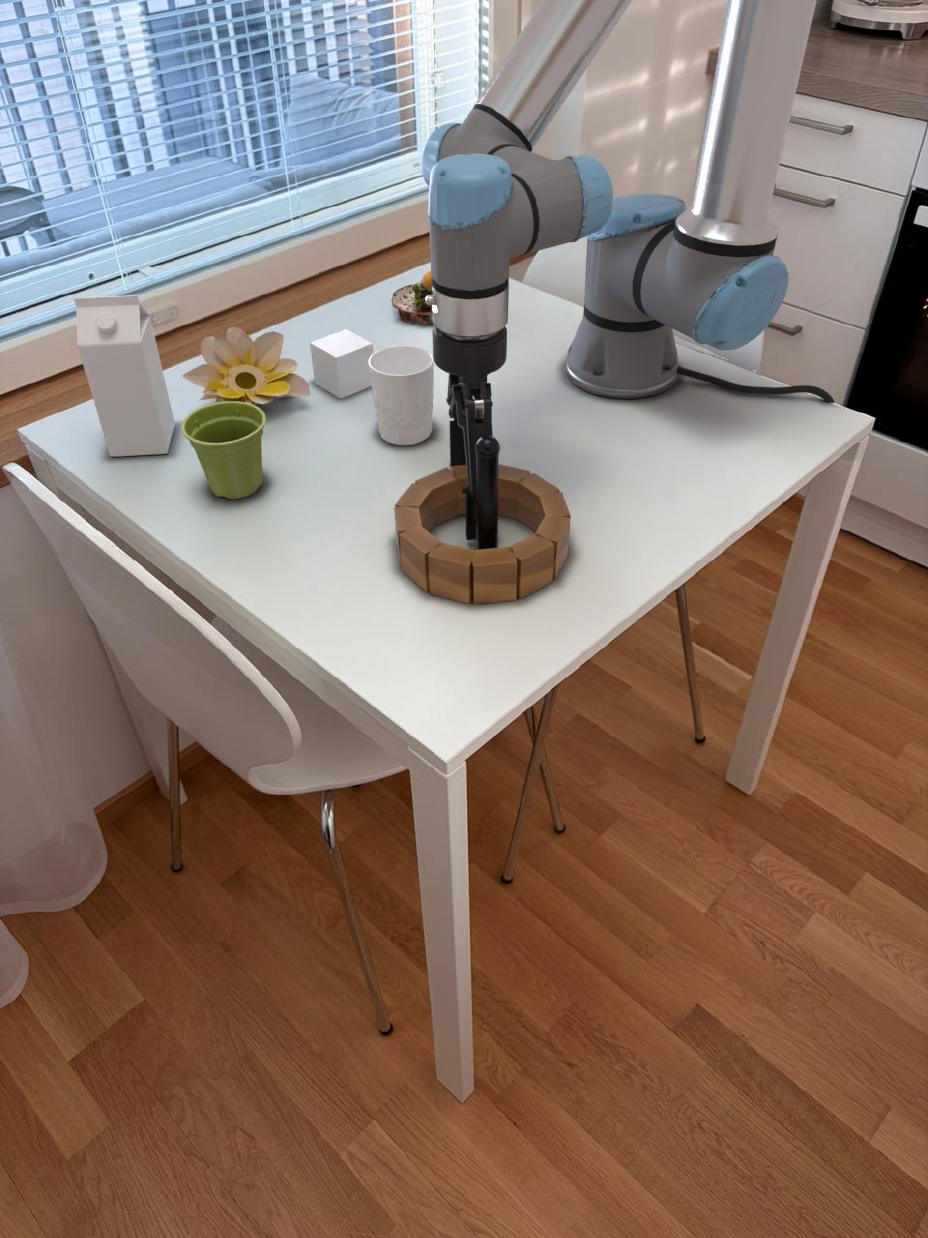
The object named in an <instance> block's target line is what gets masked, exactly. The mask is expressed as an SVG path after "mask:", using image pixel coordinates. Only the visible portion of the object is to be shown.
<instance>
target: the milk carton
mask: <svg viewBox="0 0 928 1238" xmlns="http://www.w3.org/2000/svg"><path fill="white" fill-rule="evenodd" d="M73 301H74V303H75V309H76V312H75V313H76V345H77V348H78V352H79V355H80V359H81V363H82V365H83V369H84V372H85V376H86V380H87V384H88V386H89V390H90V393H91V396H92V400H93V403H94V406H95V410H96V413H97V417H98V420H99V424H100V427H101V430H102V434H103V438H104V441H105V444H106V447H107V451H108V455H109V456H110V457H129V456H130V457H131V456H150V455H166V454H168V453H169V451H170V445H171V441H172V438H173V434H174V430H175V426H176V421H175V417H174V412H173V408H172V403H171V400H170V396H169V392H168V391H169V390H168V387H167V383H166V379H165V374H164V370H163V366H162V361H161V358H160V354H159V350H158V349H159V348H158V344H157V342H156V341H157V340H156V337H155V332H154V328H153V323H152V319H151V314H149V313H148V311H146V309H145V308H144V307H143V306H142V305H141V303H140V300H139V295H138V294H127V295H107V296H105V295H104V296H85V297H84V296H83V297H74V298H73Z"/></svg>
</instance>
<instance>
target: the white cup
mask: <svg viewBox="0 0 928 1238" xmlns="http://www.w3.org/2000/svg"><path fill="white" fill-rule="evenodd" d="M369 369H370V377H371V385H372V386H371V393H372V397H373V404H374V405H373V406H374V410H375V416H376V419H377V427H378V432H379V433H378V434H379V435H380V438H381V439H382V440H383V441H384V442H387V443H388V444H393V445H396V446H413V445H416V444H420V443H423V442H424V441H426V440H427V439H428V438H430V436H431V434H432V432H433V413H434V395H435V394H434V393H435V392H434V391H435V389H434V387H435V383H434V381H435V378H434V377H435V362H434V360H433V353H431V352H430V351H429V350H428V349H425V348H423V347H420V346H415V345H411V344H406V345H405V344H400V345H399V344H398V345H391V346H385V347H384V348H380V349H378V350H377V351H375V352H374V354H372V355H371V357H370V358H369Z"/></svg>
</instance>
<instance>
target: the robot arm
mask: <svg viewBox="0 0 928 1238" xmlns="http://www.w3.org/2000/svg"><path fill="white" fill-rule="evenodd" d="M632 2H633V0H541V1H540V3H539V4H538V5H537V7H536V8H535V11H534V12H533V14H532V15H531V17H530V18H529V20H528V21H527V22H526V25H525V26H524V28H523V29H522V31H521V32H520V33H519V35H518V37H517V38H516V40H515V41H514V43H513V45H512V46H511V47H510V49H509V51H508V52H507V54H506V55H505V57H504V59H503V60H502V61H501V63H500V65H499V66H498V68H497V69H496V71H495V72H494V73H493V75H492V77H491V79H490V80H489V81H488V83H487V85H486V86H485V87H484V89H483V91H482V92H481V94H480V95H479V97H478V98H477V100H476V101H475V103H474V105H473V107H472V109H471V110H470V111H469V112H468V114H467V116H465V118H464V120H463V121H462V123H461V122H449V123H445V124H442V125H441V126H440V127H438V128H437V129H434V130H433V131H432V132H431V133H430V134H429V136H428V138H427V140H426V141H425V144H424V146H423V149H422V153H421V159H420V162H421V163H420V167H421V173H422V176H423V180H424V182H425V183H426V185H427V187H428V208H427V220H428V227H429V228H428V230H429V247H430V248H429V252H430V253H429V254H430V270H431V276H432V292H433V294H434V295H427V296H426V304H427V305H433V306H432V314H433V323H432V324H433V328H432V331H431V333H432V355H433V360H434V365H436V367H437V368H439V369H440V370H441V371H443V372H444V373H446V374H448V381H447V396H446V400H445V401H446V403H447V405H448V406H449V408H448V416H449V418H450V419H453V420H449V467H451V466H461V465H466V469H467V480H468V485H467V486H466V487H462V488H461V492H462V494H466V515H465V538H466V541H473V540H474V541H475V540H476V541H477V521H476V452H475V445H476V442H477V441H478V440H479V439H480V438H481V437H483V436H492V437H494V436H493V435H494V433H493V406H494V404H493V400H492V396H493V394H492V385H491V382H488V376H489V375H490V374H493V373H495V372H497V371H498V370H500V369H502V367H504V365H505V364H506V361H507V358H508V357H507V356H508V355H507V354H508V350H507V349H508V328H507V325H508V323H509V298H510V295H509V294H510V282H509V281H510V265H511V259H515V258H518V257H522V256H526V255H527V254H532V253H535V252H539V251H543V250H546V249H549V248H554V247H557V246H561V245H565V244H568V243H576V242H578V241H579V240H580V239H583V238H586V259H585V274H584V275H585V277H584V295H583V312H582V318H581V320H580V323H579V326H578V328H577V330H576V333H575V334H574V338H573V339H572V341H571V344H570V345H569V348H568V349H567V351H566V355H565V356H567V358H566V365H565V366H566V367H565V371H566V375H567V377H568V379H569V381H571V382H572V383H573V384H574V385H575V386H577V387H578V388H580V389H582V390H583V391H586V392H588V393H591V394H593V395H596V396H600V397H606V398H613V399H622V400H623V399H627V400H628V399H642V398H648V397H652V396H656V395H658V394H661V393H663V392H665V391H667V390H669V389H670V388H671V387H672V386H673V385H674V384H675V383H676V381H677V378H678V375H680V376H684V377H688V378H691V379H694V380H698V381H701V382H705V383H708V384H711V385H714V386H717V387H721V388H724V389H726V390H729V391H732V392H737V393H741V394H742V393H743V394H753V395H754V394H755V395H773V396H774V395H787V394H788V395H790V394H801V393H805V394H811V395H815V396H817V397H819V398H820V399H822V400H823V401H824V402H825V403H828V404H834V403H835V399H834V398H833V396H832V395H831V394H830V393H829V392H828V391H826V390H825V389H823V388H821V387H819V386H815V385H810V384H809V385H808V384H799V385H798V384H797V385H789V386H757V385H754V386H753V385H745V384H739V383H735V382H731V381H728V380H725V379H722V378H720V377H717V376H713V375H710V374H706V373H703V372H700V371H696V370H693V369H689V368H686V367H683V366H682V367H681V366H679V355H678V350H677V346H676V339H675V335H674V330H675V331H676V332H679V333H681V334H683V335H684V336H687V337H689V338H690V339H693V341H694V342H696V343H698V344H700V345H707V346H709V347H711V348H714V349H716V350H720V351H725V352H726V351H734V350H738V349H740V348H742V347H744V346H746V345H748V344H750V343H751V342H752V341H754V340H755V339H756V338H757V337H759V336H760V334H762V332H764V330H765V329H766V328H767V327H768V326H769V325H770V323H771V322H772V321H773V320H774V318H775V317H776V315H777V313H778V312H779V310H780V308H781V306H782V305H783V302H784V299H785V297H786V295H787V291H788V287H789V280H790V278H789V276H790V274H789V271H788V269H787V268H788V267H787V265H786V263H785V262H784V261H783V260H782V259H781V258H780V256H777V255H774V253H775V248H776V245H777V239H778V235H779V228H778V226H777V224H776V223H775V222H774V220H773V219H772V218H771V216H770V209H771V204H772V201H773V195H774V190H775V188H776V187H775V186H776V181H777V177H778V174H779V170H780V169H779V168H780V165H781V161H782V156H783V151H784V146H785V143H786V139H787V134H788V129H789V125H790V120H791V115H792V111H793V106H794V103H795V98H796V93H797V90H798V85H799V80H800V76H801V71H802V66H803V63H804V57H805V54H806V49H807V44H808V40H809V36H810V33H811V27H812V24H813V23H812V22H813V18H814V13H815V9H816V5H817V0H727V4H726V10H725V16H724V21H723V27H722V33H721V39H720V44H719V49H718V55H717V62H716V66H715V73H714V77H713V84H712V88H711V95H710V99H709V106H708V111H707V117H706V122H705V128H704V133H703V140H702V146H701V150H700V151H701V152H700V157H699V161H698V166H697V167H698V168H697V174H696V179H695V184H694V186H695V187H694V190H693V196H692V202H691V205H690V206H688V207H686V202H685V201H684V200H683V199H681V198H680V197H677V196H674V195H670V194H660V193H638V194H629V195H623V196H619V197H618V196H617V197H614V188H613V184H612V180H611V177H610V174H609V173H608V171H607V169H606V168H605V166H604V165H603V163H602V162H600V161H599V160H598V159H597V158H596V157H594V156H590V155H576V156H572V155H568V156H565V157H564V158H561V159H550V158H547V157H545V156H543V155H540V154H538V153H535V152H532V151H533V150H534V148H535V146H536V145H537V143H538V142H539V141H540V139H541V138H542V136H543V135H544V133H545V132H546V130H547V129H548V127H549V126H550V124H551V123H552V121H553V120H554V118H555V117H556V115H557V113H558V112H559V111H560V109H561V107H562V106H563V104H564V103H565V101H566V100H567V99H568V97H569V96H570V94H571V93H572V91H573V90H574V88H575V87H576V86H577V84H578V82H579V81H580V79H581V77H583V74H584V73H585V72H586V70H587V69H588V68H589V66H590V64H591V63H592V61H593V60H594V59H595V57H596V55H597V53H599V51H600V49H601V47H602V46H603V45H604V43H605V42H606V40H607V39H608V37H609V36H610V34H611V33H612V31H613V30H614V29H615V27H616V25H617V24H618V22H619V21H620V20H621V18H622V16H623V15H624V13H625V12H626V10H627V9H628V7H629V6H630V5H631V3H632ZM449 469H450V470H451V468H449Z"/></svg>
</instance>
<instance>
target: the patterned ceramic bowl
mask: <svg viewBox="0 0 928 1238" xmlns="http://www.w3.org/2000/svg"><path fill="white" fill-rule="evenodd" d="M427 295H434V294H433V292H432V276H431V269H430V270H427V271H426V272H425V273H423V276H422V278H421V279H420V280H419V282H416V283H413V284H412V283H411V284H408V285H405V286H403V287H400V288H398V289H397V290H396V291H394V292H393V293H392V297H391V301H390V302H391V306H392V307H393V308H394V309H396V310H397V311H398V315H399V319H400V321H401V322H405V323H408V324H412V321H413V319H412V318H413V317H416V319H417V320H418V321H419V322H420V323H422V324H424V325H428V324H429V323H431V324H434V323H433V314H432V306H433V305H427V304H426V296H427Z"/></svg>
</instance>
